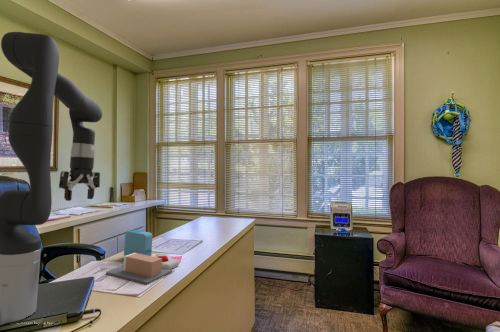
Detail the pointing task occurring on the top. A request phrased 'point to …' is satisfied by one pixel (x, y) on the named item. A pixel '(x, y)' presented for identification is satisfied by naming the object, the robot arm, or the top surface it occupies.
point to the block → (142, 264)
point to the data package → (138, 242)
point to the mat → (137, 275)
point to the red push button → (168, 262)
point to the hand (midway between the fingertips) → (79, 199)
